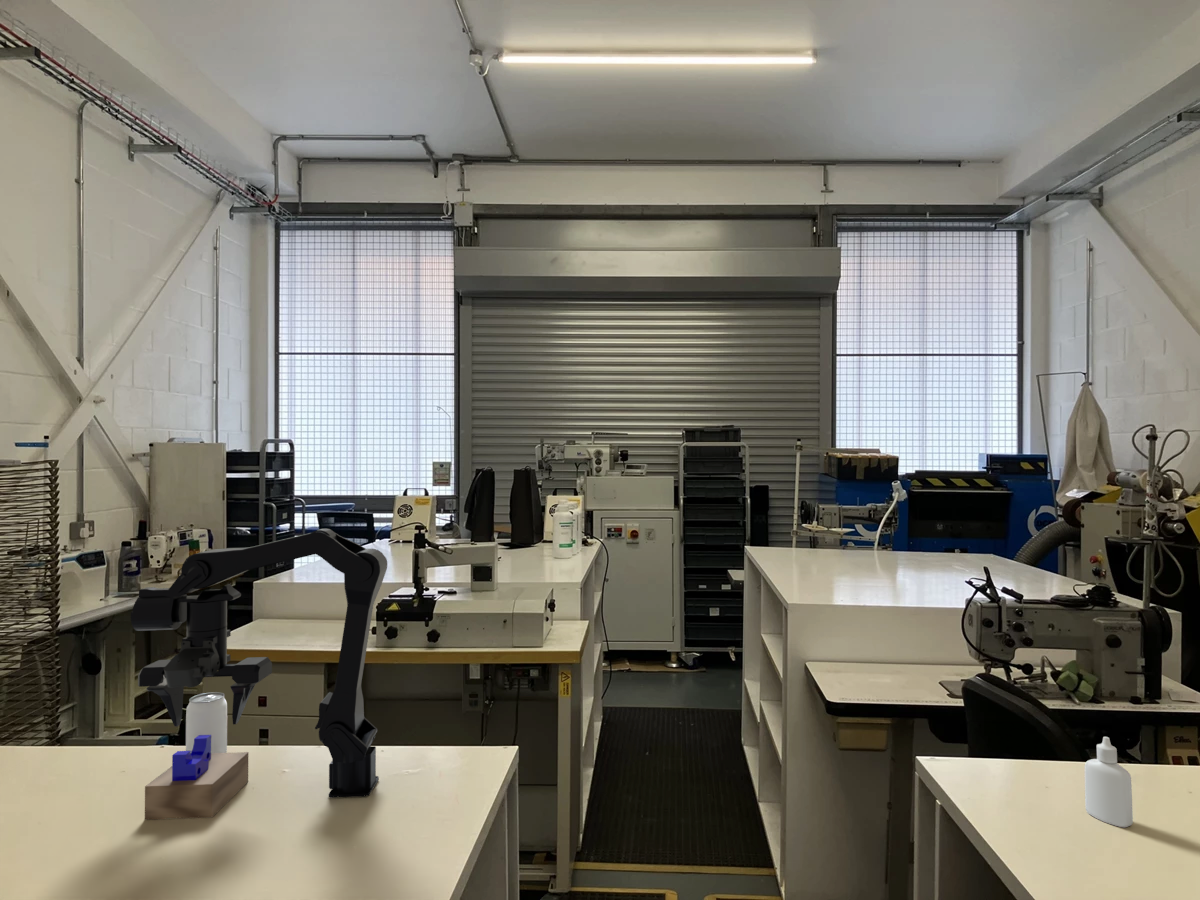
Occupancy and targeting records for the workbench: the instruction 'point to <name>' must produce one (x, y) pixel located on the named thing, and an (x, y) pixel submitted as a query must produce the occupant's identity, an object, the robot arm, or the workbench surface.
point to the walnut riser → (197, 789)
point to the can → (207, 720)
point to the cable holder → (192, 760)
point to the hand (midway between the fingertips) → (206, 724)
